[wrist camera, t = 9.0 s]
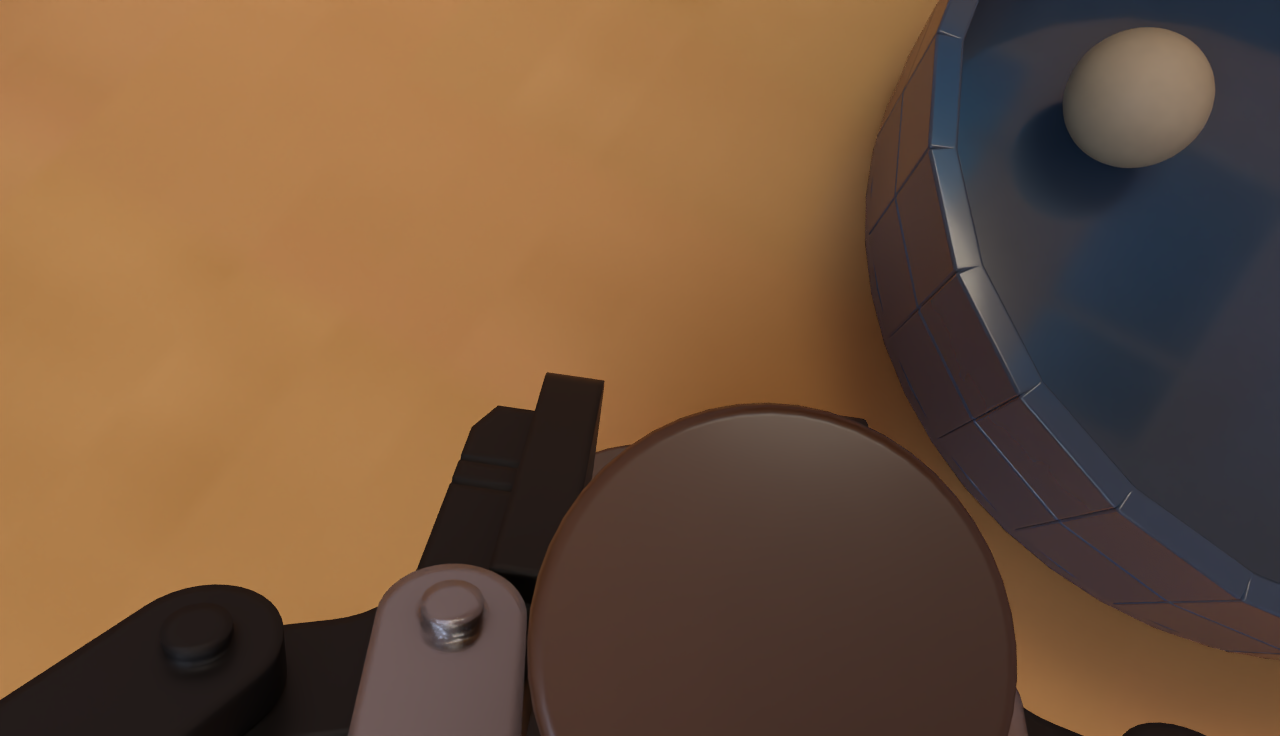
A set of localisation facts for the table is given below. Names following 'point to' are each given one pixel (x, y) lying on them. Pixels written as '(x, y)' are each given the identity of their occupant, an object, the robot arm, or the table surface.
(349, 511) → the table surface
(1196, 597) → the bowl
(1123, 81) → the ball
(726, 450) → the wall peg
